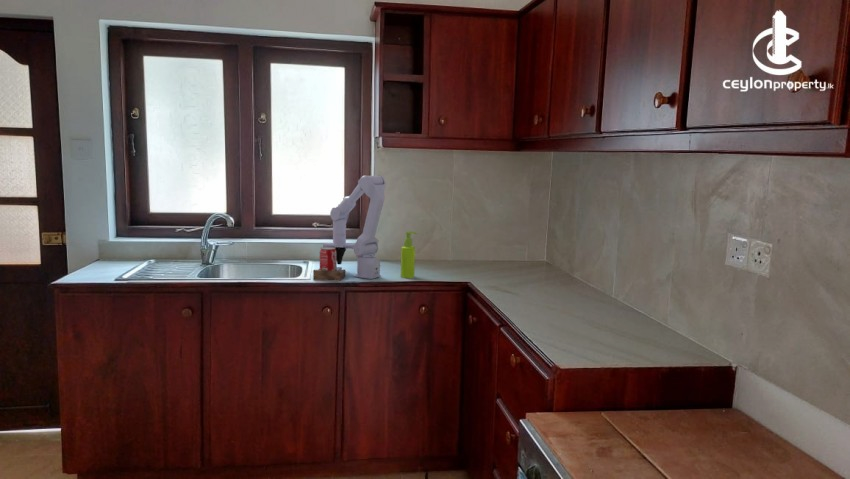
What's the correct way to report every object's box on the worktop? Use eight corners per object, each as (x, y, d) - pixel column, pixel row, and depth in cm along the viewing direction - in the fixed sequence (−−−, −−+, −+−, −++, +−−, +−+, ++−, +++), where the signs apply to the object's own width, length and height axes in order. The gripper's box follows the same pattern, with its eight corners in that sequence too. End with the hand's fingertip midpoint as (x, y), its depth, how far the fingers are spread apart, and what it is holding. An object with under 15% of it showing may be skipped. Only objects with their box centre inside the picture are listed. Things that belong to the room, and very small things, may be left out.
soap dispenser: (416, 278, 255) (417, 232, 252) (400, 278, 255) (401, 232, 252) (416, 275, 261) (417, 231, 258) (401, 275, 261) (402, 230, 258)
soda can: (334, 280, 247) (334, 249, 245) (317, 279, 247) (317, 248, 246) (338, 276, 254) (338, 247, 252) (321, 276, 254) (322, 246, 253)
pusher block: (328, 273, 261) (328, 266, 261) (341, 274, 261) (341, 267, 260) (323, 276, 254) (323, 269, 254) (337, 277, 254) (337, 270, 253)
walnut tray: (345, 276, 255) (345, 267, 254) (339, 280, 245) (340, 271, 245) (319, 275, 256) (319, 266, 256) (313, 279, 247) (313, 270, 246)
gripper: (357, 233, 268) (357, 263, 269) (326, 232, 269) (326, 261, 271) (353, 235, 261) (353, 265, 262) (321, 234, 262) (321, 264, 264)
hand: (339, 264), depth 266 cm, fingers closed
